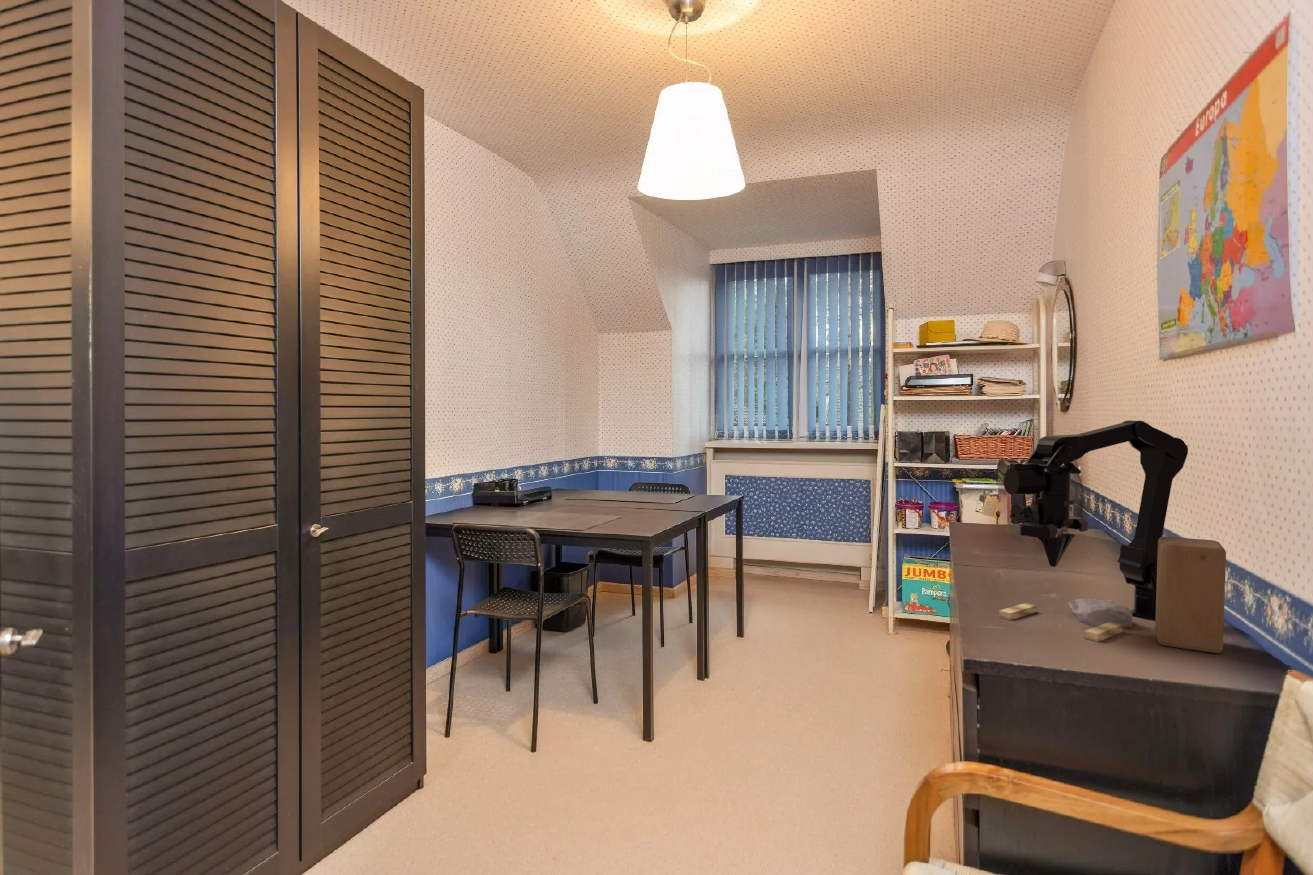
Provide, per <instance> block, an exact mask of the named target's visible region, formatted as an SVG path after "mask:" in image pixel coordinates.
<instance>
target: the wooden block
mask: <svg viewBox="0 0 1313 875" xmlns="http://www.w3.org/2000/svg"><path fill="white" fill-rule="evenodd" d="M1226 563H1227V552H1226V549H1225V547H1223V545H1222V544H1221V543H1220V542H1219V541H1217V540H1215V539H1214V540H1213V539H1201V538H1189V537H1188V538H1187V537H1177V536H1162V537H1160V538H1159V540H1158V559H1157V590H1156V620H1155V625H1154V627H1155V628H1154V629H1155V634H1156V639H1157V642H1158V644H1159V645H1162V646H1163V647H1168V648H1169V647H1170V648H1176V649H1184V650H1190V651H1198V652H1203V653H1211V654H1220V653H1222V651H1223V650H1224V624H1225V598H1226V597H1225V596H1226V573H1227V572H1226V571H1227V570H1226V568H1227V567H1226V566H1227V564H1226Z"/></svg>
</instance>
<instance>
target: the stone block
mask: <svg viewBox="0 0 1313 875" xmlns="http://www.w3.org/2000/svg"><path fill="white" fill-rule="evenodd" d="M1068 607H1069V609H1070V610H1071V611H1072V612H1073V614H1074V615H1075V617H1076V619H1077V620H1078V621H1079V622H1080V623H1083V624H1085V625H1088V626H1091V627H1096V626H1099V625H1102V624H1105V623H1108V622H1113V623H1117V624H1122V625H1123V628H1132V627H1133V616H1134V615H1132V612H1131V611H1130V610H1131V609H1129V607H1127V606H1125V605H1120V604H1119V605H1118V604H1115V603H1114V601H1113V600H1111V599H1108V600H1106V599H1105V600H1104V599H1095V598H1078V599H1075V600H1070V601H1069V602H1068Z"/></svg>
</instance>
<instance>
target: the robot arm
mask: <svg viewBox="0 0 1313 875" xmlns="http://www.w3.org/2000/svg"><path fill="white" fill-rule="evenodd" d="M1127 442H1128V443H1129V444H1130V446H1131V447H1132V448H1133V449H1135V450H1136V451H1137V452H1139V453H1140V454H1139V455H1140V457H1139V458H1140V459H1139V462H1140V465H1141V468H1142V470H1143V472H1144V476H1145V477H1144V481H1143V487H1142V494H1141V499H1140V503H1139V510H1138V515H1137V521H1136V527H1135V531H1134V536H1133V539H1132V540H1131V541H1130V543H1129V544H1128V545H1127V544H1121V546H1120V551H1119V557H1118V559H1117V561H1116V562H1117V563H1118V564H1119V571H1121V573H1122V575H1123V577H1124V580H1125V583H1126V584H1127V585H1132V586H1134V591H1133V592H1134V594H1133V609H1129V610H1130V611H1131V612H1132V615H1133V616H1134V617H1135V616H1136V617H1140V618H1145V619H1150V620H1153V621H1154V620H1155V621H1156V590H1157V559H1158V540H1159V538H1160V537H1163V533H1164V529H1165V523H1166V519H1167V518H1166V516H1167V511H1168V506H1169V501H1170V495H1171V489H1172V485H1173V480H1174V478H1176V476H1177V475H1178V474H1179V473H1180V471H1181V470H1183V468H1184V465H1185V464H1186V460H1187V457H1188V454H1189V448H1188V447H1189V446H1188V445H1187V444H1186V443H1185V441H1184V440H1183V439H1181V438H1179V437H1174V436H1172V435H1171V434H1169V433H1166V432H1165V431H1162V430H1160V429H1158V428H1155V427H1153V426H1152V425H1150V424H1149V423H1147V422H1145V421H1144V420H1133V419H1132V420H1131V419H1129V420H1125V421H1123V422H1121V423H1120V422H1119V423H1116V424H1113V425H1108V426H1105V427H1101V428H1097V429H1093V430H1089V431H1086V432H1081V433H1078V434H1056V435H1045V436H1043V437H1041V438H1040V439H1039V440H1038V443H1037V445H1036V448H1035V449H1034V451H1033V452H1032V454H1031V455H1030V456H1029V457H1028V458H1027V460H1026V461H1025V463H1019V462H1010V463H1009V468H1008V469H1007V470H1006V471H1005V474H1004V476H1003V487H1004V489H1005V491H1006V493H1007V494H1009V495H1012V496H1015V495H1016V496H1017V495H1018V496H1019V495H1023V496H1024V495H1026V496H1027V495H1029V496H1030V495H1032V496H1033V495H1039V497H1037V498H1036V499H1035V500H1034V505H1030V506H1024V505H1023V504H1022V503H1019V504H1018V503H1017V504H1014V505H1011V508H1010V514H1009V518H1010V519H1012V520H1014V522H1015V525H1019V535H1020V536H1024V537H1032V538H1033V537H1034V538H1037V539H1038V540H1039V541H1040V542H1041V544H1042V545H1043V549H1044V551H1045V554H1046V557H1047V558H1046V559H1047V560H1048V565H1049V566H1050V567H1053V568H1055V567H1057V566H1058V564H1059V563H1060V561H1061V560H1062V558H1063V557H1064V556H1063V555H1064V554H1065V552H1066V550H1067V549H1068V547H1069V545H1070V544H1071V542H1072V541H1073V539H1074V538H1075V537H1076V534H1075V533H1074V534H1073V533H1069V530H1068V529H1071V530H1078V531H1079V532H1087V531H1088V525H1089V524H1088V521H1087V519H1085V518H1084V517H1082V516H1081V517H1079V516H1071V514H1070V513H1071V506H1072V505H1073V506H1074V505H1075V499H1071V487H1072V486H1071V482H1072V475H1075V474H1077V475H1078V474H1079V475H1080V474H1081V473H1082V471H1081V470H1080V468H1078V467H1077V466H1076V465H1075V464H1074V461H1077V460H1079V459H1081V458H1083V457H1084V456H1085V455H1086V454H1088V453H1090V452H1092V451H1097V450H1099V449H1104V448H1108V447H1111V446H1116V445H1119V444H1123V443H1127Z"/></svg>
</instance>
